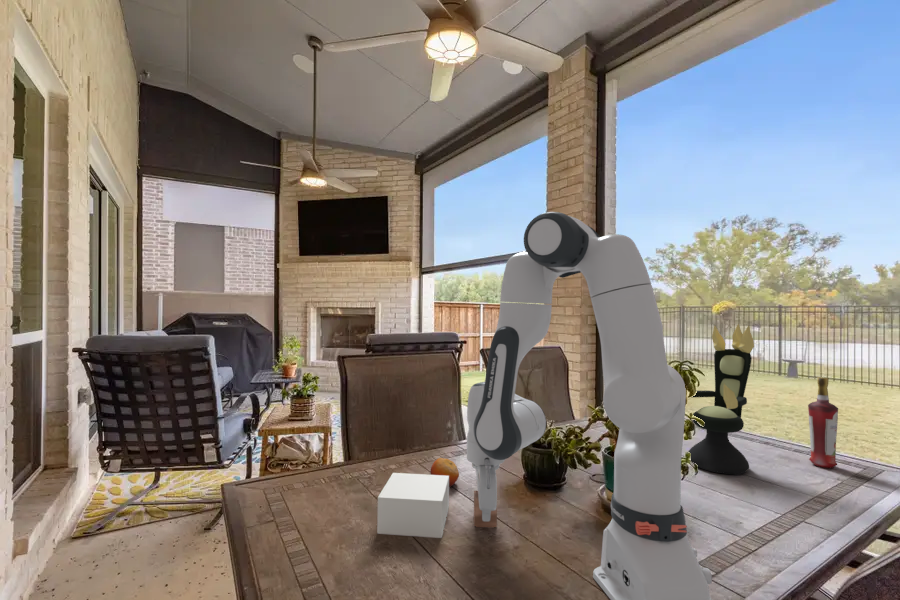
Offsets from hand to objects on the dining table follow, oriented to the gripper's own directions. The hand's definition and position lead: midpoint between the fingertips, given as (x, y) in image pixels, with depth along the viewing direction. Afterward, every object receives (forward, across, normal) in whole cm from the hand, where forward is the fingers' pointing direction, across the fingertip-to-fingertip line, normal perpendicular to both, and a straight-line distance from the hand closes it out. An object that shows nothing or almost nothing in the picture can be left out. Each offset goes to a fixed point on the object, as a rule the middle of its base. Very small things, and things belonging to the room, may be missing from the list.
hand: (485, 512), depth 99 cm
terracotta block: (+2, 0, 0) cm, 2 cm away
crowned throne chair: (+2, +41, -77) cm, 87 cm away
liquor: (+2, +42, -110) cm, 118 cm away
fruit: (+2, +20, +10) cm, 22 cm away
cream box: (+2, 0, +16) cm, 16 cm away
